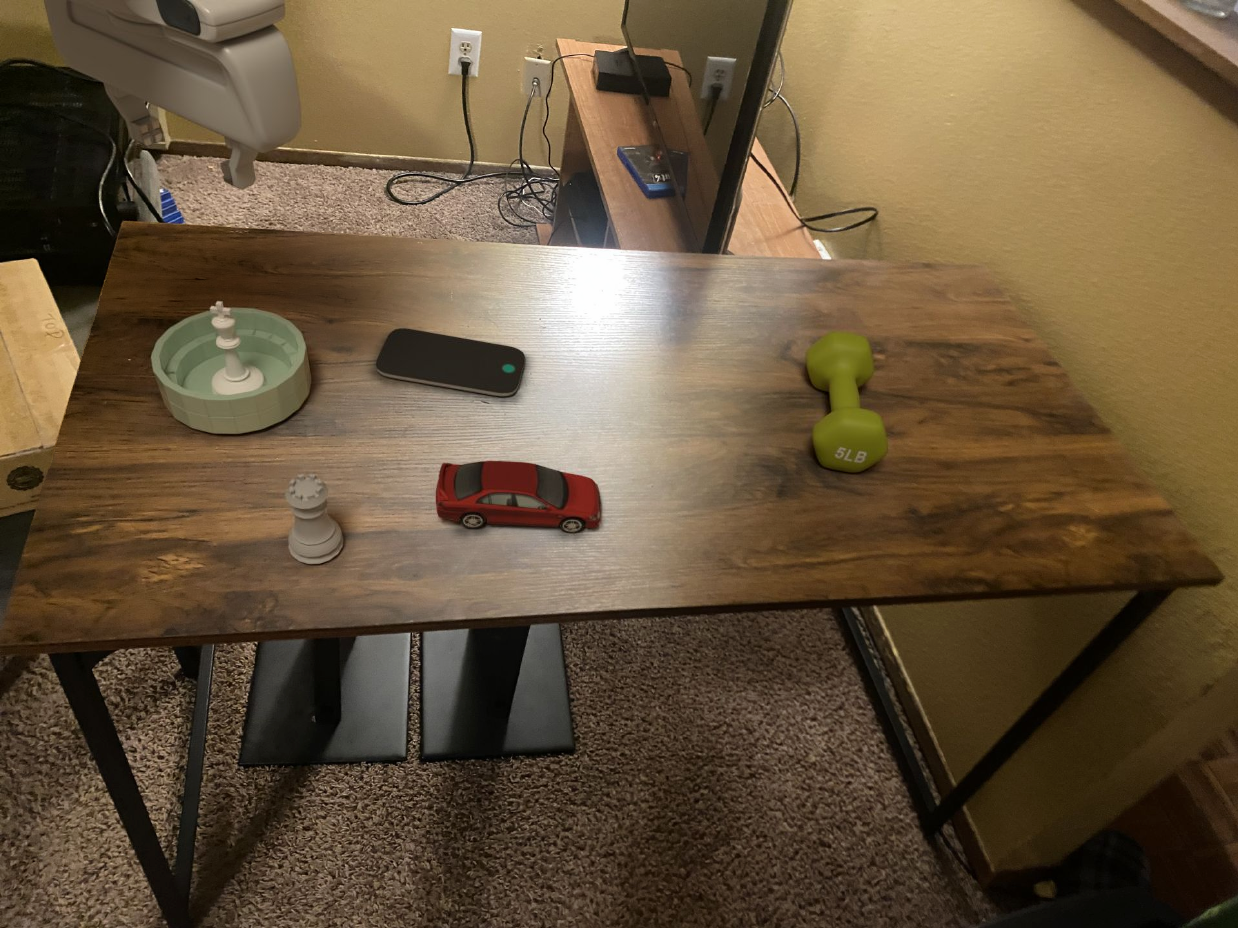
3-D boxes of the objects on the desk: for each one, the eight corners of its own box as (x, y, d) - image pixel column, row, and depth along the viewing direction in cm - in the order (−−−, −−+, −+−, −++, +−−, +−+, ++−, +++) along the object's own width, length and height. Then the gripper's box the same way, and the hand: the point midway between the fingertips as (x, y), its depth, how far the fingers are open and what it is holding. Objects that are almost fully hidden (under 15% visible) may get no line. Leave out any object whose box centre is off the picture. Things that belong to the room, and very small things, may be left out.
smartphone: (515, 394, 87) (371, 369, 86) (515, 400, 87) (372, 375, 87) (527, 348, 92) (391, 324, 91) (527, 354, 92) (392, 331, 92)
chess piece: (256, 405, 81) (237, 323, 74) (204, 399, 80) (179, 315, 73) (272, 372, 84) (256, 290, 77) (222, 365, 84) (200, 283, 76)
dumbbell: (875, 484, 87) (903, 436, 82) (801, 470, 87) (824, 421, 82) (861, 382, 98) (884, 334, 93) (795, 369, 98) (815, 320, 93)
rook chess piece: (286, 530, 72) (272, 469, 66) (340, 521, 74) (331, 460, 68) (291, 572, 70) (277, 511, 64) (347, 561, 71) (338, 501, 65)
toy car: (441, 481, 79) (440, 445, 75) (599, 496, 80) (606, 461, 77) (432, 527, 75) (431, 491, 71) (598, 542, 76) (605, 507, 73)
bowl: (173, 451, 76) (159, 412, 73) (157, 358, 84) (144, 318, 80) (324, 422, 81) (318, 384, 78) (297, 337, 89) (290, 299, 85)
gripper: (-11, -73, 55) (59, 130, 65) (230, 25, 50) (265, 226, 60) (74, -88, 59) (127, 104, 69) (303, 1, 55) (325, 193, 65)
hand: (193, 162), depth 65 cm, fingers open, 8 cm apart
